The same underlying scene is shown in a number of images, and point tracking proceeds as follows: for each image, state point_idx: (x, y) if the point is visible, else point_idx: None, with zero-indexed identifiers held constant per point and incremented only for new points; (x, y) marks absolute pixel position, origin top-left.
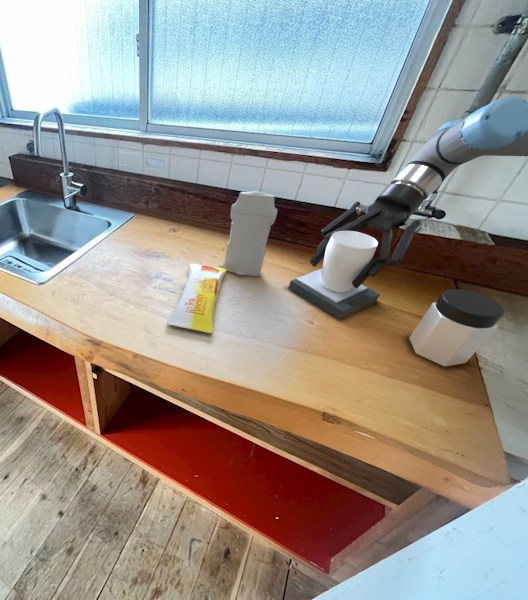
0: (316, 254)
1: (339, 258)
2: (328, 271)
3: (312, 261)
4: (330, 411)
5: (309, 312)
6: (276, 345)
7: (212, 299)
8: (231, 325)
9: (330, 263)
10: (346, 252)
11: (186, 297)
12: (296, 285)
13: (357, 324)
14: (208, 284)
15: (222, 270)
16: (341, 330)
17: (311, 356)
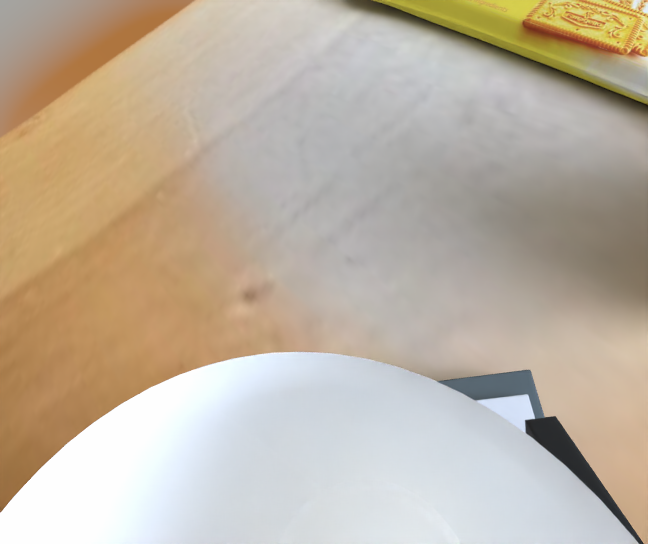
0: (581, 478)
1: (260, 403)
2: (356, 445)
3: (527, 424)
4: (25, 124)
5: (304, 336)
6: (228, 128)
7: (484, 5)
8: (363, 59)
9: (349, 421)
10: (184, 402)
11: None
12: (478, 376)
13: None
14: (599, 18)
15: None
16: (159, 370)
17: (143, 187)
